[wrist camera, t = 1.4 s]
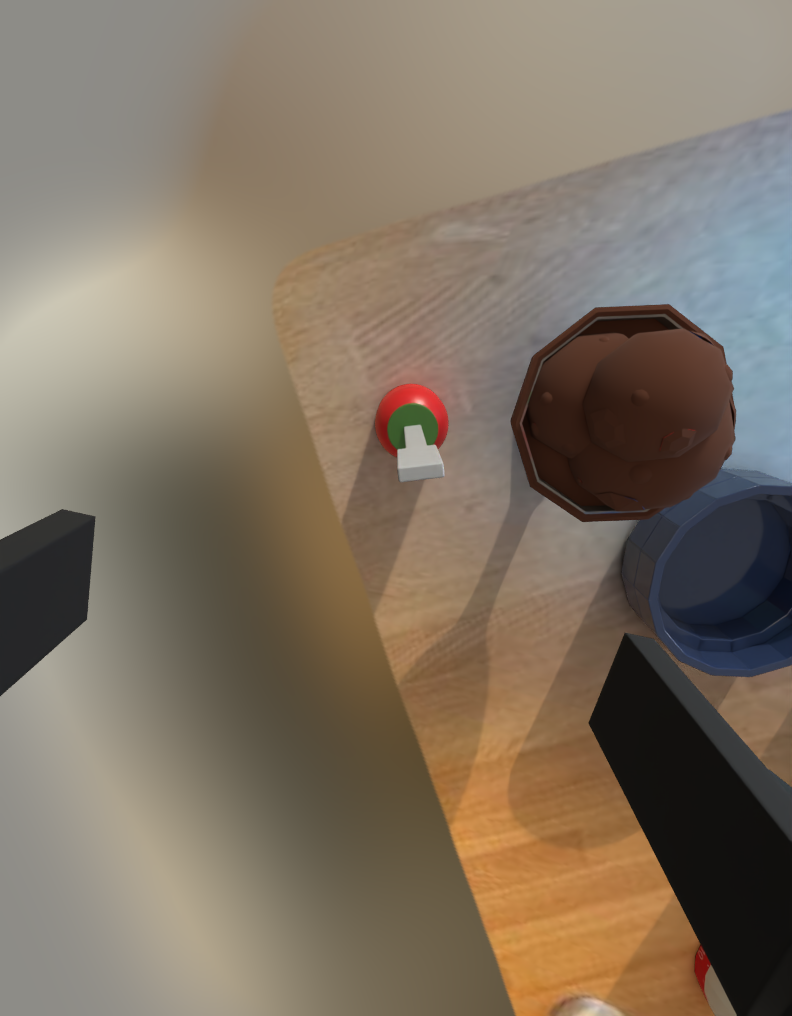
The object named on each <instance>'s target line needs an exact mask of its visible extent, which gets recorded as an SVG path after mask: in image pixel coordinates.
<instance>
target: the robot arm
mask: <svg viewBox="0 0 792 1016" xmlns="http://www.w3.org/2000/svg"><path fill="white" fill-rule="evenodd" d="M94 527H95V516H90V515H86V514H82V513H77V512H72V511H68V510H63V509H62V510H60V511H58V512H56V513H54V514H52V515H50V516H48V517H45V518H44V519H41V520H39V521H37V522H35V523H33V524H31V525H29V526H27V527H25V528H23V529H21V530H19V531H17V532H15V533H13V534H11V535H9V536H7V537H5V538H3V539H1V540H0V696H1V695H2V694H3V693H4V692H6V690H8V689H9V688H10V687H11V686H12V685H13V684H15V683H16V682H17V681H18V680H19V679H20V678H21V677H22V676H24V675H25V674H26V673H27V672H28V671H29V670H30V669H31V668H33V667H34V666H35V665H36V664H37V663H38V662H39V661H41V660H42V659H43V658H44V657H45V656H46V655H47V654H48V653H49V652H51V651H52V650H53V649H54V648H55V647H56V646H57V645H58V644H60V643H61V642H62V641H63V640H64V639H65V638H66V637H68V636H69V635H70V634H71V633H72V632H73V631H74V630H75V629H77V628H78V627H79V626H80V625H81V624H82V623H83V622H85V621H86V620H87V612H88V599H89V588H90V574H91V563H92V551H93V539H94ZM589 725H590V727H591V729H592V731H593V733H594V735H595V737H596V739H597V741H598V743H599V745H600V747H601V749H602V751H603V753H604V755H605V757H606V759H607V761H608V762H609V764H610V766H611V768H612V770H613V772H614V774H615V776H616V778H617V780H618V782H619V784H620V786H621V788H622V790H623V792H624V794H625V796H626V798H627V800H628V802H629V804H630V806H631V808H632V810H633V812H634V814H635V816H636V818H637V820H638V822H639V824H640V826H641V828H642V830H643V832H644V833H645V835H646V837H647V839H648V841H649V843H650V845H651V847H652V849H653V851H654V853H655V855H656V857H657V859H658V861H659V863H660V865H661V867H662V869H663V871H664V873H665V875H666V877H667V879H668V881H669V883H670V885H671V887H672V889H673V891H674V893H675V895H676V897H677V899H678V901H679V902H680V904H681V906H682V908H683V910H684V912H685V914H686V916H687V918H688V920H689V922H690V924H691V926H692V928H693V930H694V932H695V934H696V936H697V938H698V940H699V942H700V944H701V946H702V948H703V950H704V952H705V954H706V956H707V958H708V960H709V962H710V964H711V966H712V968H713V970H714V972H715V973H716V975H717V977H718V979H719V981H720V983H721V985H722V987H723V989H724V991H725V993H726V995H727V997H728V999H729V1001H730V1003H731V1005H732V1007H733V1009H734V1011H735V1013H736V1015H737V1016H792V787H790V786H789V785H788V784H787V783H785V782H784V781H783V780H782V779H780V778H779V777H778V776H777V775H775V774H774V773H773V772H772V771H770V770H768V769H767V768H766V767H765V765H764V764H763V763H762V762H761V761H760V760H759V759H758V757H757V756H756V755H755V754H754V753H753V752H752V751H751V749H750V748H749V747H748V746H747V745H746V744H745V743H744V741H743V740H742V739H741V738H740V737H739V736H738V735H737V733H736V732H735V731H734V730H733V729H732V728H731V727H730V725H729V724H728V723H727V722H726V721H725V720H724V719H723V717H722V716H721V715H720V714H719V713H718V712H717V711H716V709H715V708H714V707H713V706H712V705H711V704H710V703H709V701H708V700H707V699H706V698H705V697H704V696H703V695H702V693H701V692H700V691H699V690H698V689H697V688H696V687H695V685H694V684H693V683H692V682H691V681H690V680H689V679H688V677H687V676H686V675H685V674H684V673H683V672H682V671H681V669H680V668H679V667H678V666H677V665H676V664H675V663H674V661H673V660H672V659H671V658H670V657H669V656H668V655H667V653H666V652H665V651H664V650H663V649H662V648H661V647H660V645H659V644H658V643H657V642H656V641H655V640H654V639H652V638H647V637H643V636H638V635H634V634H629V633H625V634H624V636H623V639H622V641H621V644H620V646H619V649H618V651H617V654H616V656H615V659H614V661H613V664H612V666H611V669H610V671H609V674H608V676H607V678H606V681H605V683H604V686H603V688H602V691H601V693H600V696H599V698H598V701H597V703H596V706H595V708H594V711H593V713H592V716H591V718H590V721H589Z"/></svg>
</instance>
